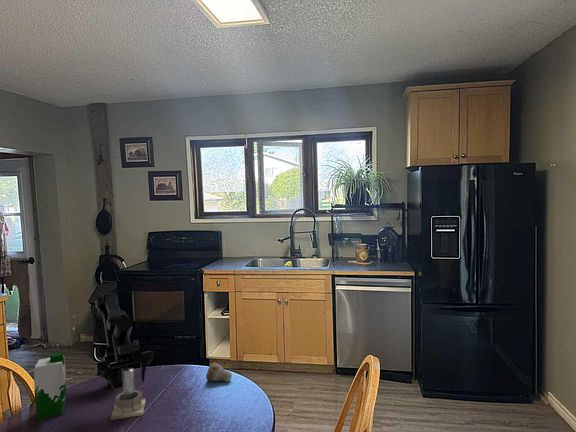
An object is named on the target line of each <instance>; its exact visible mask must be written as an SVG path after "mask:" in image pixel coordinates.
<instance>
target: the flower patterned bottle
mask: <svg viewBox="0 0 576 432" xmlns="http://www.w3.org/2000/svg"><path fill="white" fill-rule="evenodd" d="M232 376H233V375H232V372H231V371H229V370H227V369H225V368H224V367H222V365H221V364H219V363H217V362H211V363H210V365H209V367H208V370H207V372H206V377H205V379H206V380H208V381H209V382H220V381H221V382H226V383H227V382H229V381H231V379H232Z"/></svg>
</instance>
